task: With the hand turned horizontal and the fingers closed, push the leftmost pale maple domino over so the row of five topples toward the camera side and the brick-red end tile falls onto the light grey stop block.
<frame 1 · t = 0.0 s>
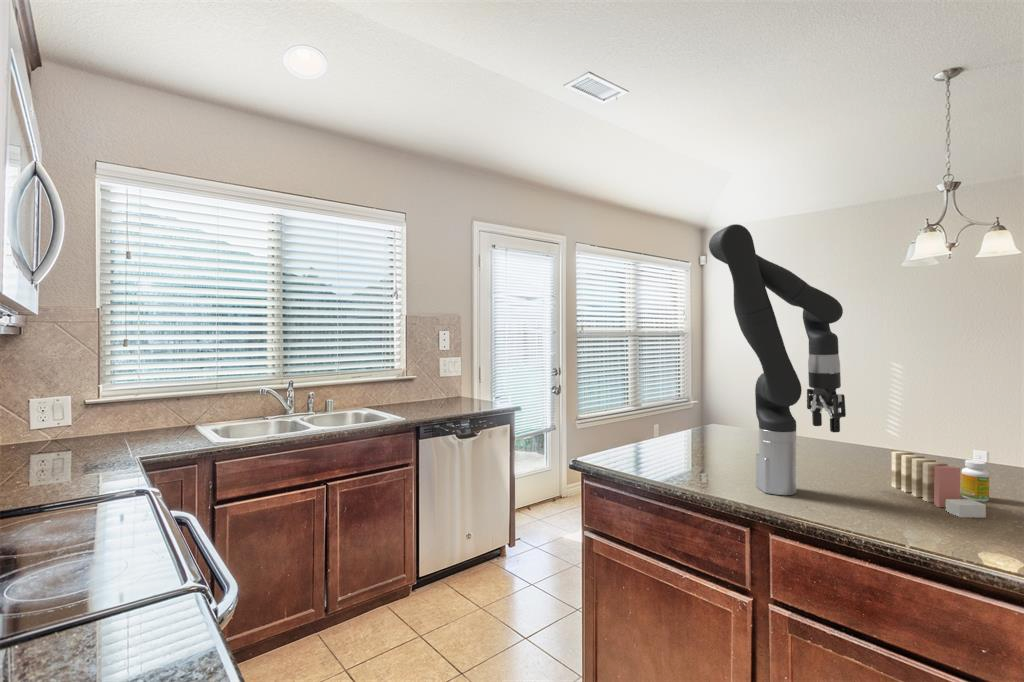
hand: (825, 428, 139), 17 cm above the counter, tool pointing down, fingers open, 8 cm apart
domino 2: (912, 491, 138), on the counter
domino 3: (923, 496, 134), on the counter
supplement bottle: (974, 499, 132), on the counter
domino 5: (946, 506, 126), on the counter
domino 1: (902, 487, 142), on the counter
domino 4: (934, 501, 130), on the counter
stop block: (965, 514, 121), on the counter
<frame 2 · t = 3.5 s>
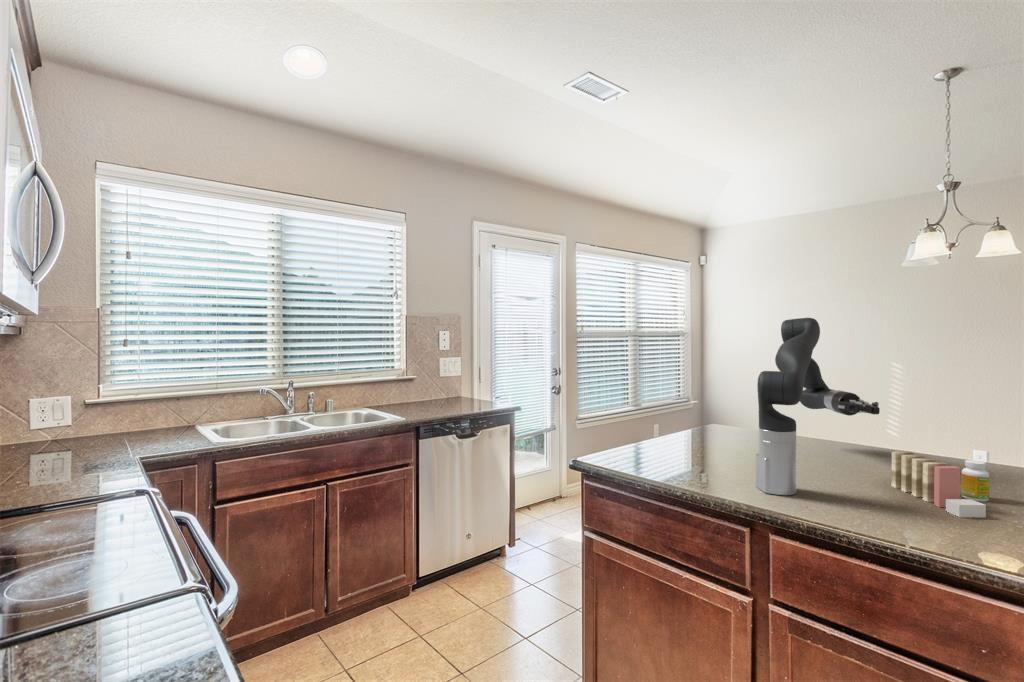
hand: (876, 411, 152), 20 cm above the counter, tool horizontal, fingers closed
nothing on the counter moved.
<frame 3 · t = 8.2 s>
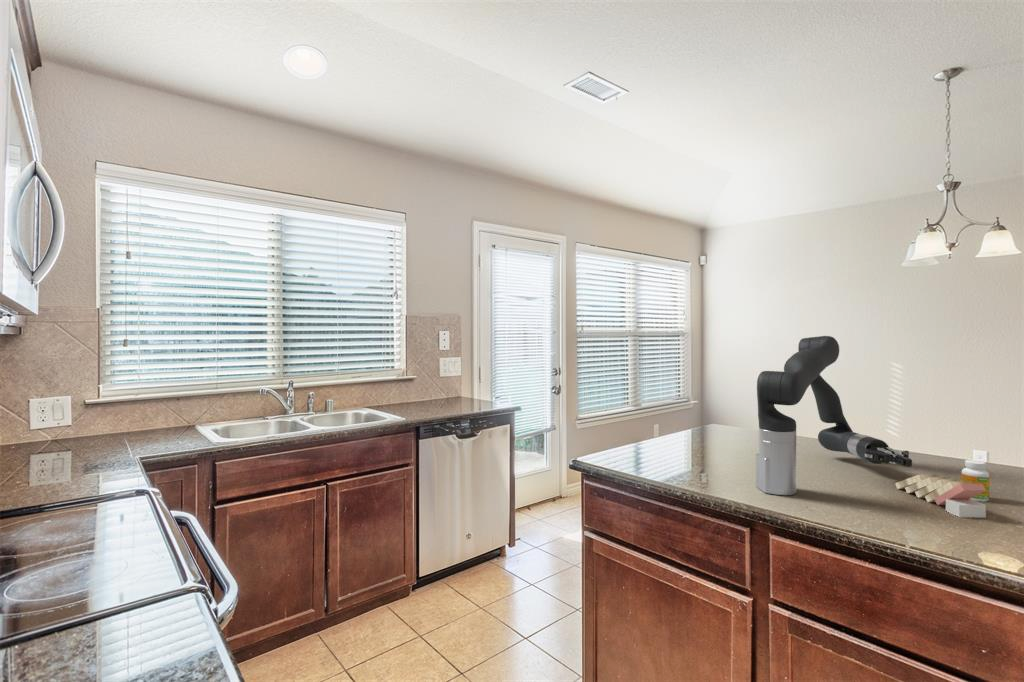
hand: (909, 463, 139), 7 cm above the counter, tool horizontal, fingers closed
domino 2: (915, 490, 137), point 1 cm above the counter, tilted 58°, touching domino 1, domino 3
domino 3: (925, 495, 133), point 1 cm above the counter, tilted 54°, touching domino 2, domino 4
domino 5: (946, 501, 127), point 1 cm above the counter, tilted 51°, touching domino 4, stop block
domino 1: (905, 486, 141), point 1 cm above the counter, tilted 60°, touching domino 2
domino 4: (936, 499, 130), point 1 cm above the counter, tilted 51°, touching domino 3, domino 5
everything else where it was.
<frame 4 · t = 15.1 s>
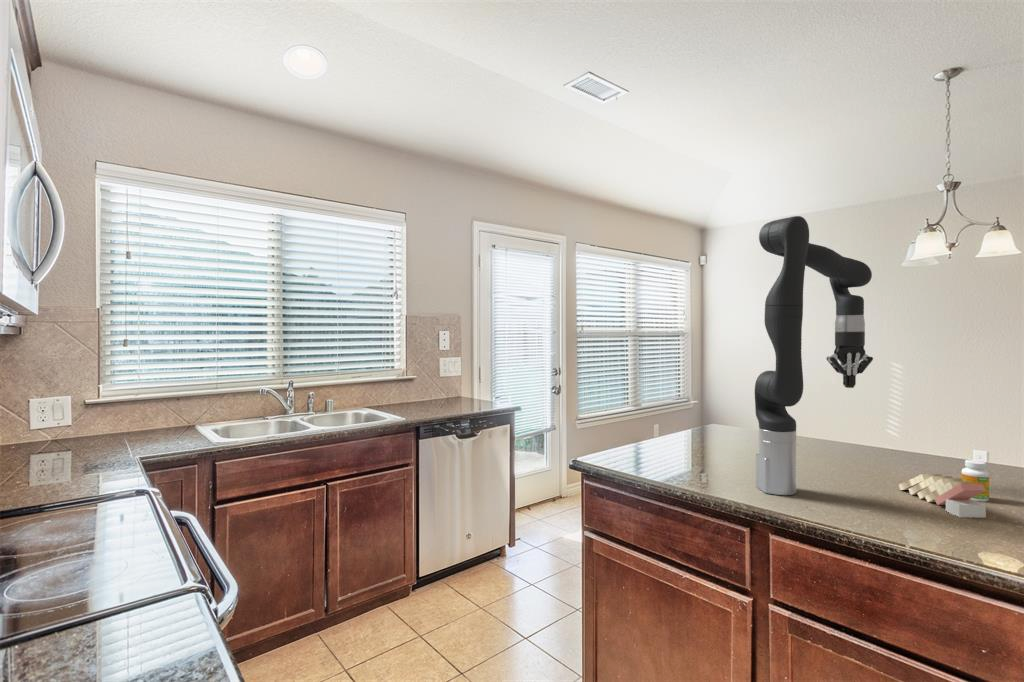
hand: (849, 387, 152), 27 cm above the counter, tool pointing down, fingers closed
domino 2: (919, 492, 136), point 1 cm above the counter, tilted 54°, touching domino 1, domino 3
domino 1: (908, 487, 139), point 1 cm above the counter, tilted 57°, touching domino 2
at the end: domino 5 tilted 51°; domino 1 tilted 57°; the gripper is holding nothing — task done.
